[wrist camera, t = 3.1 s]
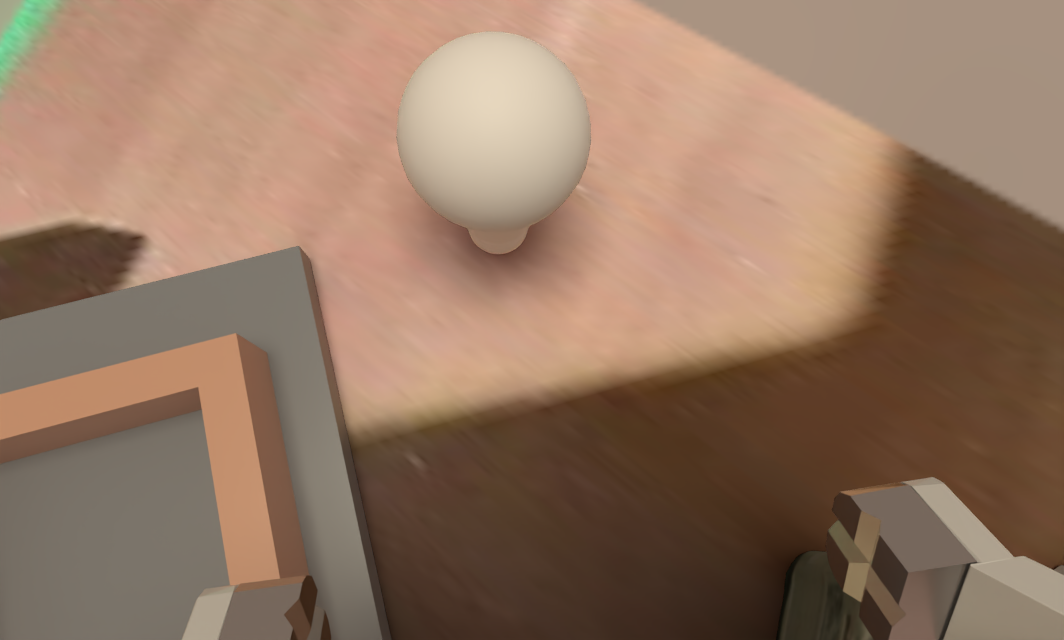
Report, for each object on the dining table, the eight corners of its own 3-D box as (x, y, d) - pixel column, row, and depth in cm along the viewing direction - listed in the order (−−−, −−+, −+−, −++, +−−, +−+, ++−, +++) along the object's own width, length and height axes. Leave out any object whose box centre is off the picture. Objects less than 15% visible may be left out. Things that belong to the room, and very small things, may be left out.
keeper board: (421, 778, 23) (401, 840, 19) (-63, 942, 22) (-206, 1051, 17) (309, 259, 28) (273, 214, 24) (-91, 359, 27) (-208, 330, 22)
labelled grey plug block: (713, 560, 26) (801, 583, 18) (837, 519, 26) (974, 525, 18) (769, 721, 24) (891, 822, 16) (899, 674, 25) (1076, 751, 17)
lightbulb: (438, 163, 30) (398, -28, 19) (574, 178, 30) (610, -4, 19) (417, 293, 28) (361, 163, 17) (562, 308, 28) (594, 188, 17)
